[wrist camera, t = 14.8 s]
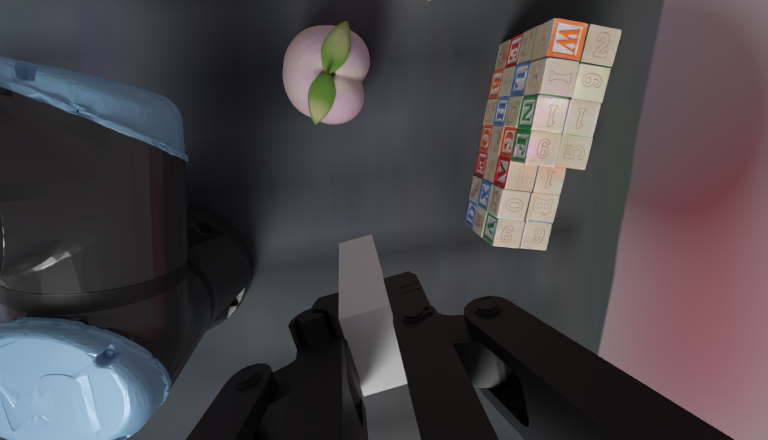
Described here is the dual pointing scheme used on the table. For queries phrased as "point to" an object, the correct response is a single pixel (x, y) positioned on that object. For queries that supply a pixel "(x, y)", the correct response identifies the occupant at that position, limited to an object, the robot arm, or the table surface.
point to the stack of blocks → (537, 128)
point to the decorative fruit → (326, 73)
